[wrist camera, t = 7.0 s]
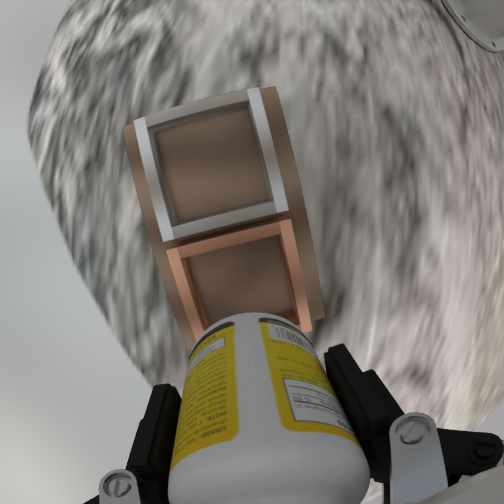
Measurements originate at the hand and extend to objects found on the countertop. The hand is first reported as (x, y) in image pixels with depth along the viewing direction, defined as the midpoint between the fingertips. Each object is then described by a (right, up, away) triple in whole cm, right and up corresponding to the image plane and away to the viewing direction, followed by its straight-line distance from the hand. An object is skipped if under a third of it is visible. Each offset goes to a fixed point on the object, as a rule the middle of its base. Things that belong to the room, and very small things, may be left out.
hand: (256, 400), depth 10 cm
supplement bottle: (0, +1, +3) cm, 3 cm away
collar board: (-2, +8, +13) cm, 15 cm away
